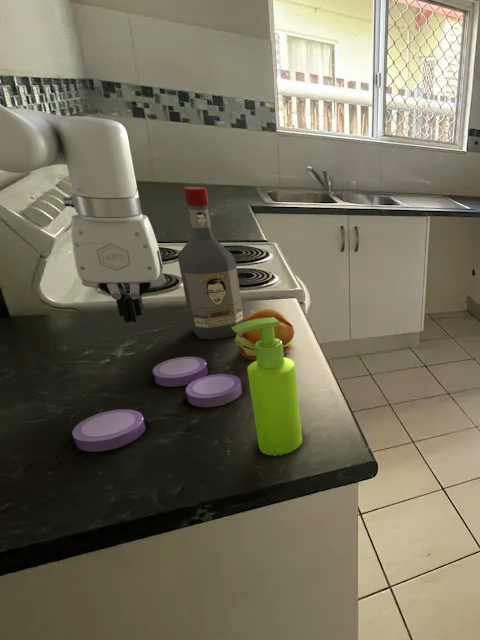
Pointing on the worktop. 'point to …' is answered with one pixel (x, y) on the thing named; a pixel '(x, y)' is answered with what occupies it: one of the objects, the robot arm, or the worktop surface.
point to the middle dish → (213, 390)
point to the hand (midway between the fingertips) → (133, 319)
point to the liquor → (208, 275)
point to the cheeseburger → (251, 337)
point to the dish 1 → (108, 430)
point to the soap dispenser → (273, 391)
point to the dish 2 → (180, 371)
